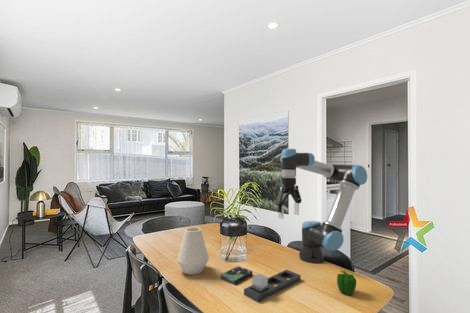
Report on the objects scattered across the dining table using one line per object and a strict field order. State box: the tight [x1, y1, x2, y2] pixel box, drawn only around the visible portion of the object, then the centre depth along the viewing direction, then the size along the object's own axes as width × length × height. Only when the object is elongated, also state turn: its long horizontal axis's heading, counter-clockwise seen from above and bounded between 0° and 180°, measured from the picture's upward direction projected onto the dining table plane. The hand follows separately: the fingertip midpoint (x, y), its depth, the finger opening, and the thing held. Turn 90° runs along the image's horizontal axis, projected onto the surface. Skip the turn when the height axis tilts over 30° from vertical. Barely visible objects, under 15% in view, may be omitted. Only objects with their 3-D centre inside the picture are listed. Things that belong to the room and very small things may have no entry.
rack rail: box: [243, 269, 301, 303], centre depth 128 cm, size 32×9×2 cm, turn 131°
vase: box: [176, 227, 209, 276], centre depth 146 cm, size 18×17×23 cm
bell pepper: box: [336, 270, 357, 296], centre depth 123 cm, size 8×8×10 cm
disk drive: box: [220, 265, 253, 286], centre depth 138 cm, size 10×3×15 cm
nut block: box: [251, 273, 269, 293], centre depth 121 cm, size 5×5×8 cm
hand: (288, 216), depth 141 cm, fingers open, 13 cm apart
